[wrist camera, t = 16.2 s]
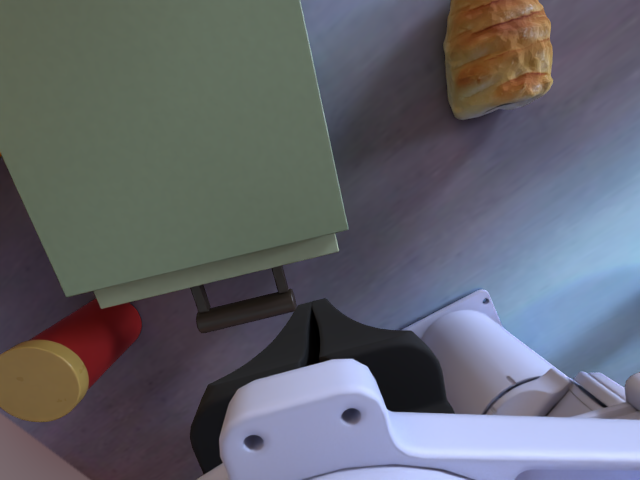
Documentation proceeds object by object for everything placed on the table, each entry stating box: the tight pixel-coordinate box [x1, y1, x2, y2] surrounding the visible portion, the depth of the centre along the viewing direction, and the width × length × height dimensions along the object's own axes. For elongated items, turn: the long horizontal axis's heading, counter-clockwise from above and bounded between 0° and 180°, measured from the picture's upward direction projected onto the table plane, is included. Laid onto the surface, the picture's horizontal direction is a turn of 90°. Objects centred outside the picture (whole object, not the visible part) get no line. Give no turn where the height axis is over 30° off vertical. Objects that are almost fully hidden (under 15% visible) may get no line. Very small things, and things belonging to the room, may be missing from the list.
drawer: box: [93, 233, 339, 333], centre depth 18 cm, size 16×12×7 cm
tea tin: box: [0, 299, 142, 422], centre depth 20 cm, size 5×5×7 cm
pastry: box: [443, 0, 553, 120], centre depth 19 cm, size 9×7×4 cm
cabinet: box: [0, 0, 348, 297], centre depth 17 cm, size 14×14×9 cm
